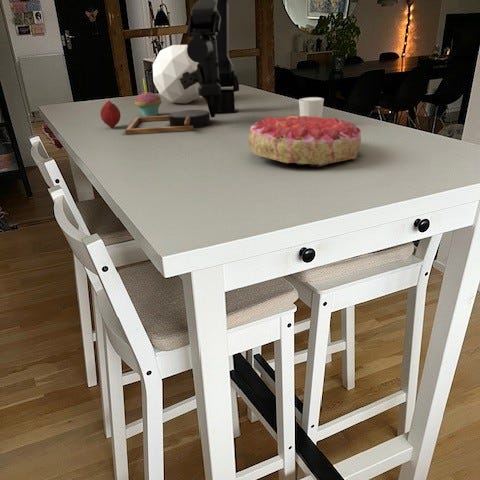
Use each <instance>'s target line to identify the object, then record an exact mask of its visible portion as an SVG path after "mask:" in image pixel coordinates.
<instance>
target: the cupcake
mask: <svg viewBox="0 0 480 480" xmlns="http://www.w3.org/2000/svg"><path fill="white" fill-rule="evenodd" d="M142 82H143V89H144V92H142V93H140V94H138V95H137V96H136V97H135V99H134V105H135V106H137V107H138V109H139V111H140V113H141V115H142V117H148V116H158V115H159V108H160V105H161V104H162V98H161V97H160V96H161V95H160V96H159V94H157V93H153V92H148V90H147V85H146V79H145V78H144V76H142Z"/></svg>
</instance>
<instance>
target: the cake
mask: <svg viewBox="0 0 480 480" xmlns="http://www.w3.org/2000/svg"><path fill="white" fill-rule="evenodd" d="M361 133H362V132H361V129H360V128H359V127H358V126H356V124H354V123H351V122H349V121H346V120H344V119H341V120H339V119H338V118H337V117H322V118H321V117H307V116H301V117H300V115H299V116H298V115H287V116H285V117H284V116H276V117H274V118H273V116H272V117H271V116H267V117H266V118H264V119H261V120H259V121H256V122H255V123H254V124H251V125H250V129H249V134H248V143H247V144H248V146H247V147H248V149H249V150H250V151H251V152H252V154H253V155H255V156H258V157H261V158H265V159H269V160H274V161H277V162H280V163H283V164H285V165H288V164H293V163H294V164H296V165H297V166H298V167H300V166H302V165H308V166H309V167H312V168H321V167H323V166H326V165H328V164H335V163H339V162H344V161H348V160H356V159H357V158H358V155H359V151H360V147H361V143H362V135H361Z"/></svg>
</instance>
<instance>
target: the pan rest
mask: <svg viewBox="0 0 480 480" xmlns="http://www.w3.org/2000/svg"><path fill="white" fill-rule="evenodd" d="M159 121H169V114H167V115H157V116H148V117H143V116H136V117H134V119H133V120H132V121H131V122H130V123H129V125H128V126H127V127H126V128H125V135H136V134H157V133H174V132H175V133H176V132H192V131H194V129H195V128H193V125H191V126H173V127H171V126H157V127H141V128H139V127H138V128H136V127H137V126H138V124H139V123H140V122H142V123H143V122H159Z"/></svg>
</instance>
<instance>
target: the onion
mask: <svg viewBox="0 0 480 480" xmlns="http://www.w3.org/2000/svg"><path fill="white" fill-rule="evenodd" d="M99 114H100V115H99V116H100V119H101V120H102V122H103V123H104V124H105V125H107V126H108V127H110V128H111V129H113V128H115V127H116V126H117V125H118V123H119V122H120V120H121V110H120V109H119V107H118V106H117V105H116V104H115V103H113V102H111V100H110V99H109V98H107V99H106V100H105V104H103V105H102V107H101V109H100V113H99Z"/></svg>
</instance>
